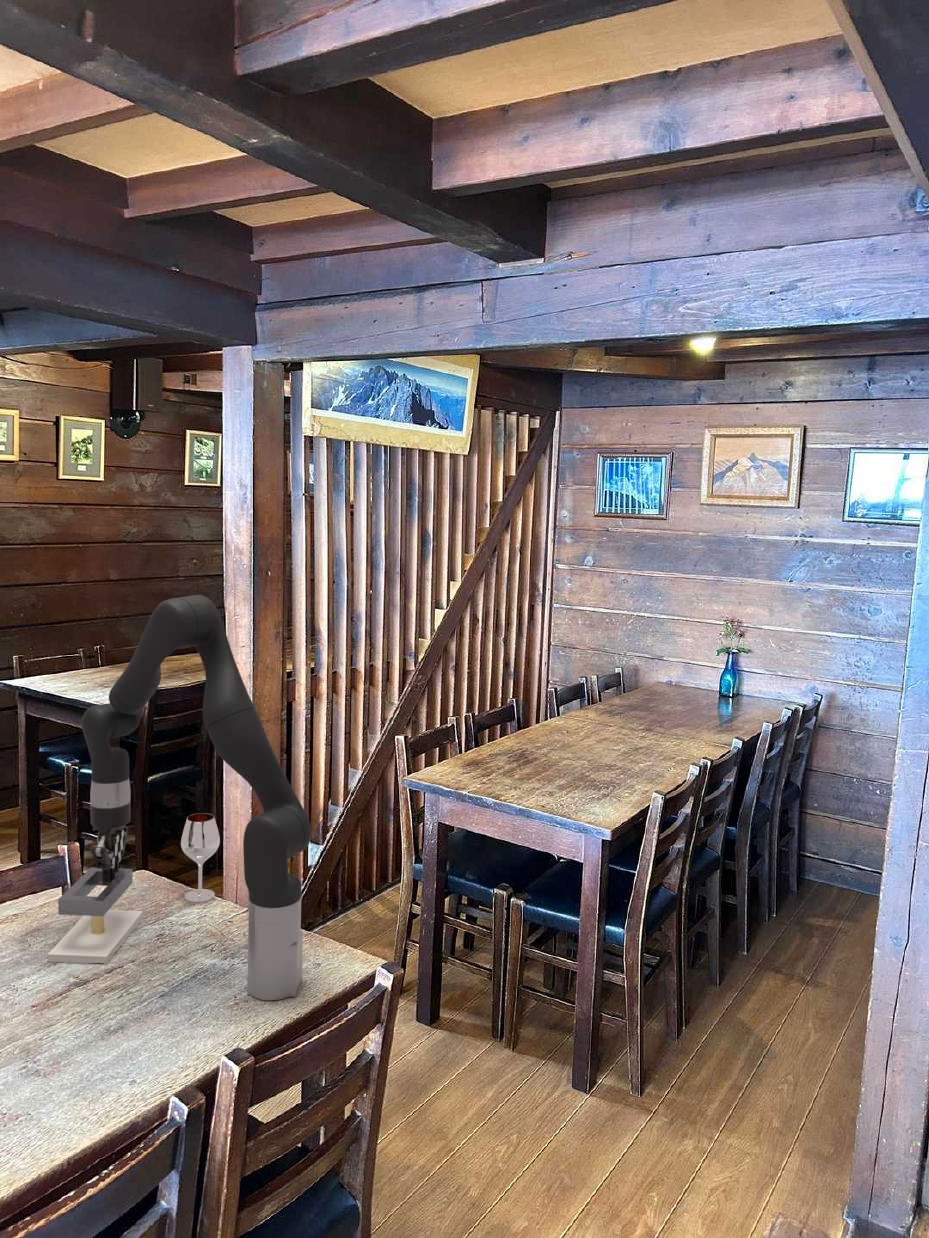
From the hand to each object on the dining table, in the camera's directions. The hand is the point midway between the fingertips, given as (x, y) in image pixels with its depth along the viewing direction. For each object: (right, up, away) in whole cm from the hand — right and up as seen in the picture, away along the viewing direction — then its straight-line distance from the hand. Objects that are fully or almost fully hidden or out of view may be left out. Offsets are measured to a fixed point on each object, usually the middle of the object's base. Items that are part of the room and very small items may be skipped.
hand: (110, 882), depth 182 cm
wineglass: (+14, -8, +15) cm, 22 cm away
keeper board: (0, -10, -5) cm, 11 cm away
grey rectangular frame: (0, -1, -7) cm, 7 cm away
